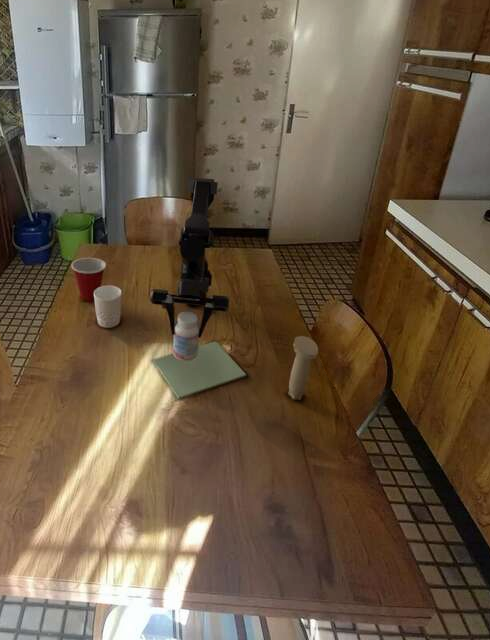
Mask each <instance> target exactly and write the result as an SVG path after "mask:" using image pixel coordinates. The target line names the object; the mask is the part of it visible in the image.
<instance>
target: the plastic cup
mask: <svg viewBox="0 0 490 640" xmlns="http://www.w3.org/2000/svg"><path fill="white" fill-rule="evenodd" d="M70 266H71V269H72V271H73V273H74V277H75V281H76V284H77V288H78V292H79V296H80V298H81V300H83V301H85V302H93V301H94V302H95V300H94V291H95V290H96V289H97V288H99V287H101V286H102V282H103V275H104V272H105V269H106V267H107V263H106V261H104V260H103V259H100V258H95V257H82V258H78V259H75V260H74V261H73V262H71V264H70Z"/></svg>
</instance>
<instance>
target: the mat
mask: <svg viewBox="0 0 490 640" xmlns="http://www.w3.org/2000/svg"><path fill="white" fill-rule="evenodd" d="M153 363H154V364H155V366H156V367H157V369H158V370H159V372H160V373H161V375H162V376H163V378H164V380H165V381H166V382H167V385H168V386H169V387H170V389H171V390H172V392H173V393H174V395H175V396H176V398H177V399H178V400H180V399H183V398H186V397H188V396H192V395H196V394H199V393H200V392H204V391H207V390H209V389H212V388H215V387H218V386H221V385H224V384H227V383H230V382H233V381H235V380H238V379H242V378H245V377H246V376H247V374H246V373H245V372H244V370H243V369H242V368H241V367H240V366H239V365H238V364H237V362H235V360H234V359H233V357H231V356H230V355H229V354H228V352H226V350H225V349H224V348H223V347H222V346H221V345H220V344H219V343H218V341H213V342H209V343H206V344H202V345H198V354H197V356H196V358H195V359H193V360H191V361H181V360H179V359H177V358H176V357H175V356H174V354H173V353H172V354H168V355H165V356H162V357H158V358H155V359H153Z"/></svg>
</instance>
